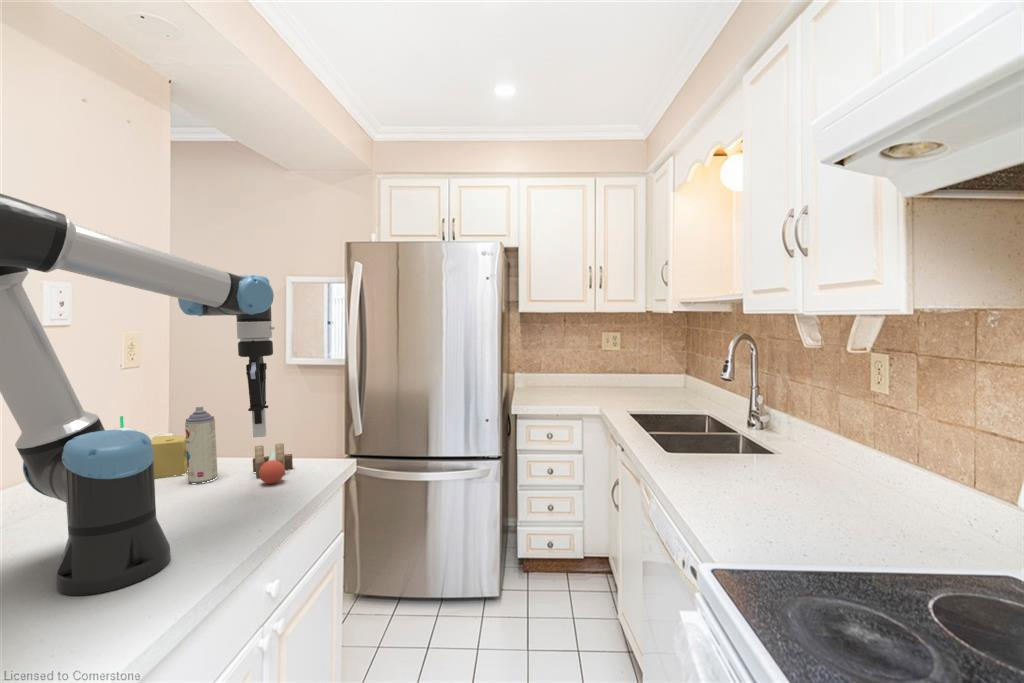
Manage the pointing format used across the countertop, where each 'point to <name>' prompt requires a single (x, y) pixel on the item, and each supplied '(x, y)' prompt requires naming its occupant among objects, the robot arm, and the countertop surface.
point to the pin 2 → (280, 454)
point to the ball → (271, 471)
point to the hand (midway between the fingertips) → (259, 436)
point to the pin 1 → (259, 458)
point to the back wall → (287, 462)
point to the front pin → (272, 455)
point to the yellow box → (169, 455)
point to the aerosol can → (201, 446)
